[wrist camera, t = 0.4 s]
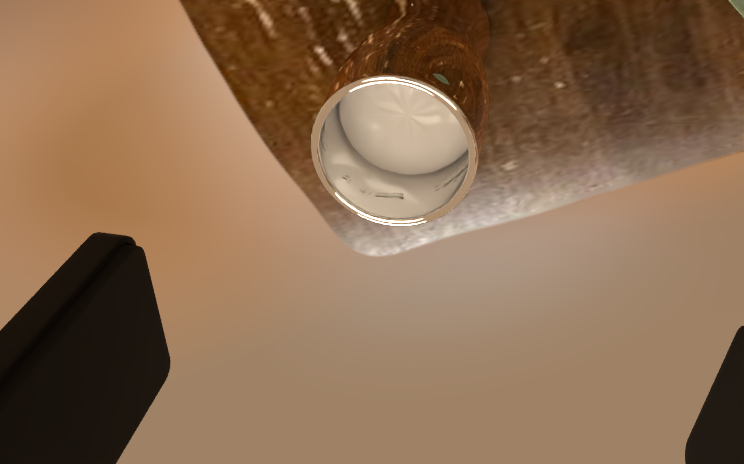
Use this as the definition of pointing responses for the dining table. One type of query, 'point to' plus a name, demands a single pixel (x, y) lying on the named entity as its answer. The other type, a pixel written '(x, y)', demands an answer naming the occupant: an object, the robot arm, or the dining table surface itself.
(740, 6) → the book
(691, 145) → the dining table surface
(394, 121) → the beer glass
